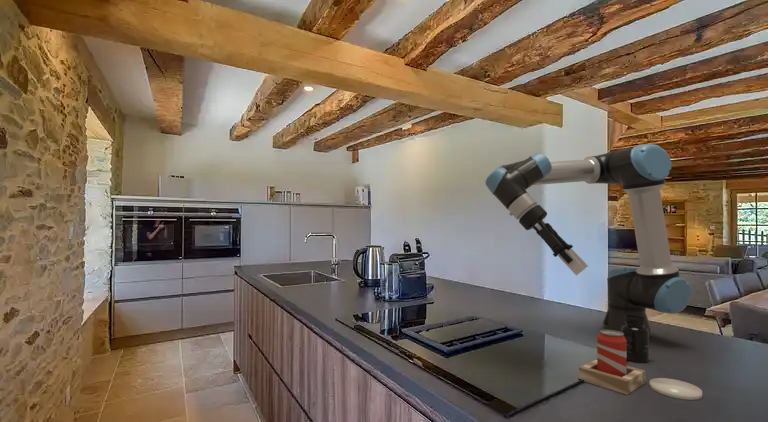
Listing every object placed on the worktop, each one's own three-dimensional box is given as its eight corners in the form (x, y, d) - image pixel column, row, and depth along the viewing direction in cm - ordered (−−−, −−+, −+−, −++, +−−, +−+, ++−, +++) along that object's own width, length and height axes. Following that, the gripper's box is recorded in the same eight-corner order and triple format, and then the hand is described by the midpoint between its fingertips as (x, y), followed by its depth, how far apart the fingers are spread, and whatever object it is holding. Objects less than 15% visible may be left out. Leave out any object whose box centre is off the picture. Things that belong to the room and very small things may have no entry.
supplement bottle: (653, 364, 113) (653, 320, 113) (626, 362, 114) (626, 319, 115) (643, 356, 120) (642, 315, 120) (617, 354, 121) (617, 313, 121)
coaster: (658, 378, 102) (658, 374, 102) (707, 392, 94) (707, 387, 94) (643, 388, 96) (642, 384, 96) (694, 404, 88) (694, 399, 88)
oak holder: (598, 369, 108) (598, 358, 108) (645, 382, 100) (645, 370, 100) (578, 379, 101) (578, 367, 101) (627, 394, 93) (627, 381, 93)
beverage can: (632, 384, 98) (632, 334, 99) (611, 387, 97) (611, 336, 97) (612, 375, 104) (611, 328, 104) (591, 378, 102) (591, 330, 103)
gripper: (526, 222, 130) (575, 275, 122) (508, 218, 108) (566, 283, 100) (544, 206, 127) (596, 259, 119) (530, 199, 106) (591, 264, 98)
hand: (582, 270), depth 110 cm, fingers open, 13 cm apart
